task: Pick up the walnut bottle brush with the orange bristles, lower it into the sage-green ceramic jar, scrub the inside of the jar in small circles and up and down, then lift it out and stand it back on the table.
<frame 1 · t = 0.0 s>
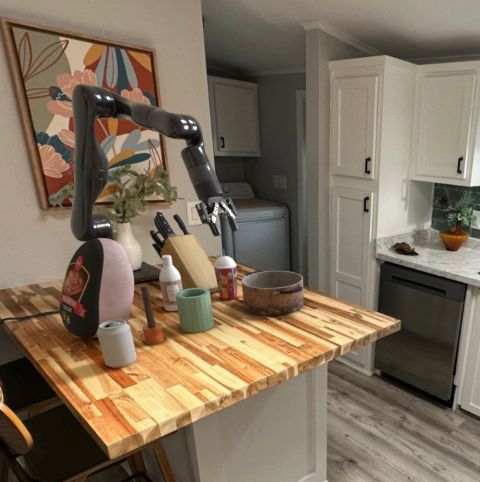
hand: (227, 233, 129), 31 cm above the breakfast bar, tool tilted 20°, fingers open, 8 cm apart
packaged food: (106, 332, 131), on the breakfast bar
cooking pot: (274, 306, 158), on the breakfast bar
knife block: (189, 286, 175), on the breakfast bar
smoothie: (229, 298, 164), on the breakfast bar
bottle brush: (154, 341, 126), on the breakfast bar
bath foam: (175, 308, 152), on the breakfast bar
can: (121, 363, 114), on the breakfast bar
jar: (197, 326, 138), on the breakfast bar
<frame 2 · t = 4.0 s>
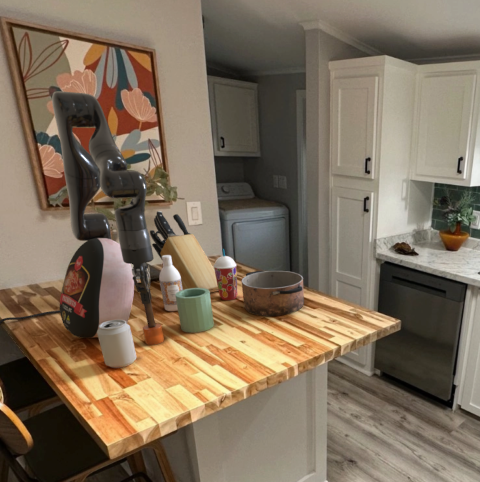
hand: (147, 301, 122), 13 cm above the breakfast bar, tool pointing down, fingers closed on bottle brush
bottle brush: (154, 341, 126), on the breakfast bar, touching gripper
everything else where it was.
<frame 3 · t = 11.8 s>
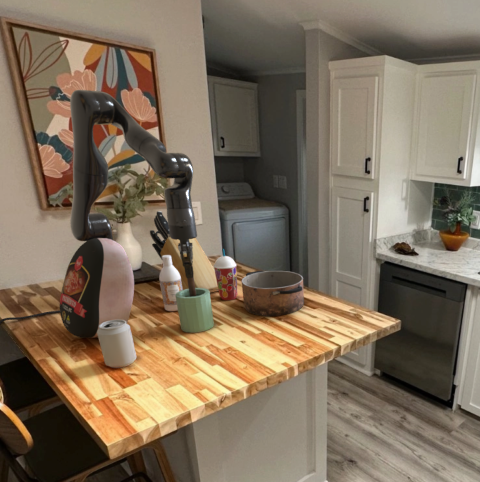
hand: (190, 276, 131), 18 cm above the breakfast bar, tool pointing down, fingers closed on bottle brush
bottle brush: (195, 313, 136), point 5 cm above the breakfast bar, touching gripper
everything else where it was.
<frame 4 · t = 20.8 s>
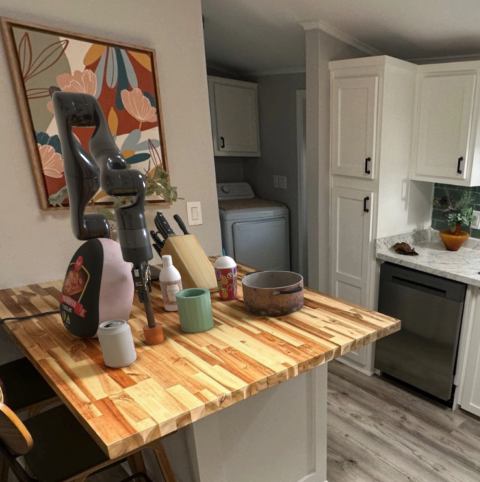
hand: (146, 297, 121), 14 cm above the breakfast bar, tool pointing down, fingers open, 8 cm apart
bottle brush: (155, 341, 126), on the breakfast bar
everything else where it was.
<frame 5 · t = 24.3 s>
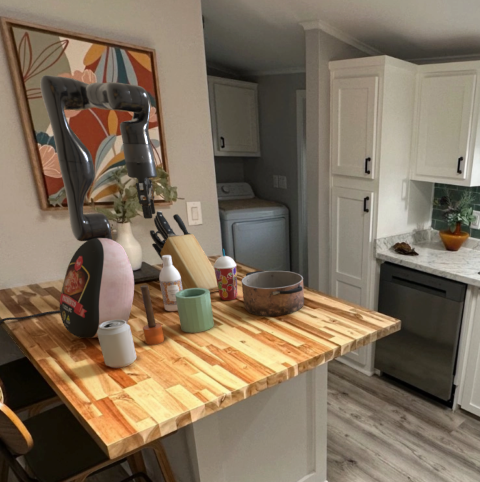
hand: (150, 216, 126), 36 cm above the breakfast bar, tool pointing down, fingers open, 8 cm apart
nothing on the breakfast bar moved.
at the end: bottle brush inside the target area (0.0 cm from its centre), on the breakfast bar; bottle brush tilted 0°; jar moved 0.0 cm from its start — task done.
